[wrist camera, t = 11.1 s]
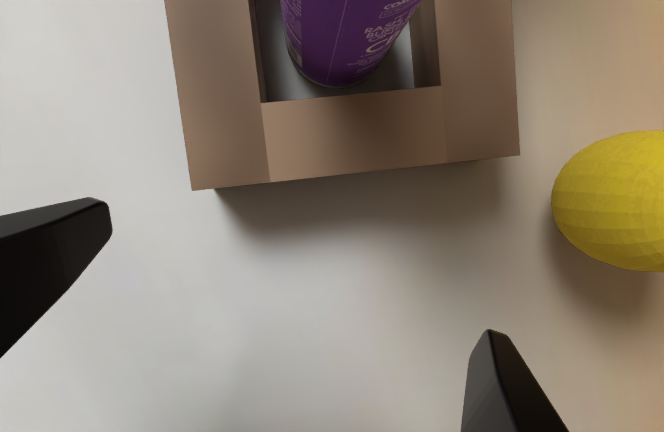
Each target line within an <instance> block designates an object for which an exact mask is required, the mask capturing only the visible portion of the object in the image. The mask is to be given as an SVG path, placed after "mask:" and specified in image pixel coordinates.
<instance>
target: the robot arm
mask: <svg viewBox="0 0 664 432" xmlns="http://www.w3.org/2000/svg"><path fill="white" fill-rule="evenodd" d="M112 231H113V229H112V223H111V217H110V211H109V207H108V205H107V203H105V202H104V201H101V200H98V199H95V198H91V197H87V198H82V199H77V200H72V201H68V202H63V203H58V204H54V205H49V206H44V207H40V208H35V209H30V210H26V211H21V212H16V213H11V214H7V215H2V216H0V358H1V357H2V356H3V355H4V354H5V353H6V352H7V351H8V350H9V349H10V348H11V347H12V346H13V345H14V344H15V343H16V342H17V341H18V340H19V339H20V338H21V337H22V336H23V335H24V334H25V333H26V332H27V331H28V330H29V329H30V328H31V327H32V326H33V325H34V324H35V323H36V322H37V321H38V320H39V319H40V318H41V317H42V316H43V315H44V314H45V313H46V312H47V311H48V310H49V309H50V308H51V307H52V306H53V305H54V304H55V303H56V302H57V301H58V300H59V299H60V298H61V297H62V295H63V294H64V293H65V292H66V291H67V290H68V289H69V288H70V287H71V286H72V285H73V283H74V282H75V281H76V280H77V279H78V277H79V276H80V275H81V274H82V272H83V271H84V270H85V269H86V268H87V266H88V265H89V264H90V263H91V261H92V260H93V259H94V258H95V256H96V255H97V254H98V253H99V252H100V250H101V249H102V248H103V247H104V245H105V244H106V243H107V242H108V240H109V239H110V237H111V235H112ZM461 432H569V430H568V429H567V427H566V426H565V424H564V423H563V421H562V420H561V418H560V416H559V415H558V413H557V412H556V410H555V409H554V407H553V405H552V404H551V402H550V401H549V399H548V398H547V396H546V394H545V393H544V391H543V390H542V388H541V387H540V385H539V383H538V382H537V380H536V379H535V377H534V376H533V374H532V373H531V371H530V369H529V368H528V366H527V365H526V363H525V362H524V360H523V358H522V357H521V355H520V354H519V352H518V351H517V349H516V347H515V346H514V344H513V343H512V341H511V340H510V338H509V337H508V336H507V335H506V334H503V333H500V332H497V331H494V330H491V329H487V330H486V331H484V333H483V334H482V336H481V338H480V339H479V341H478V343H477V344H476V346H475V348H474V349H473V351H472V353H471V355H470V358H469V363H468V372H467V380H466V389H465V397H464V406H463V415H462V424H461Z"/></svg>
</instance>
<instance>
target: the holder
mask: <svg viewBox="0 0 664 432" xmlns="http://www.w3.org/2000/svg"><path fill="white" fill-rule="evenodd" d="M164 1H165V8H166V15H167V22H168V29H169V36H170V43H171V50H172V57H173V64H174V71H175V77H176V84H177V91H178V98H179V105H180V112H181V119H182V126H183V133H184V140H185V146H186V153H187V160H188V167H189V174H190V181H191V188H192V191H195V190H204V189H213V188H223V187H232V186H241V185H250V184H259V183H269V182H278V181H287V180H296V179H305V178H315V177H324V176H333V175H342V174H351V173H361V172H370V171H379V170H388V169H397V168H407V167H416V166H425V165H434V164H443V163H453V162H462V161H471V160H480V159H489V158H499V157H508V156H517V155H520V147H519V129H518V112H517V95H516V77H515V60H514V42H513V25H512V8H511V0H422V1H421V3H420V4H419V6H418V7H417V9H416V10H415V12H414V13H413V15H412V16H411V18H410V19H409V25H410V37H411V49H412V61H413V73H414V85H415V88H413V89H402V90H392V91H382V92H372V93H361V94H351V95H341V96H330V97H320V98H310V99H300V100H289V101H279V102H269V103H267V97H266V89H265V81H264V72H263V64H262V56H261V48H260V40H259V32H258V23H257V15H256V7H255V0H164Z"/></svg>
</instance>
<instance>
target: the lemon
mask: <svg viewBox="0 0 664 432" xmlns="http://www.w3.org/2000/svg"><path fill="white" fill-rule="evenodd" d="M551 206H552V212H553V217H554V219H555V221H556V223H557V225H558V228H559V230H560V231H561V232H562V233H563V235H564V236H565V237H566V238H567V239H568V241H569V242H570V243H571V244H572V245H574V246H575V247H576V248H578V249H579V250H581V251H582V252H584V253H585V254H587V255H588V256H590V257H592V258H594V259H596V260H599V261H602V262H605V263H607V264H610V265H613V266H616V267H619V268H624V269H628V270H636V271H652V272H664V130H652V131H635V132H627V133H622V134H619V135H615V136H612V137H609V138H606V139H603V140H600V141H597V142H595V143H593V144H591V145H589V146H588V147H586V148H584V149H583V150H581V151H580V152H578V153H577V154H575V155H574V156H573V157H572V158H571V159H570V160H569V161H568V162H567V163H566V164H565V165H564V167H563V168H562V170H561V171H560V173H559V175H558V176H557V178H556V180H555V183H554V186H553V189H552V197H551Z"/></svg>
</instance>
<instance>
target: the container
mask: <svg viewBox="0 0 664 432" xmlns="http://www.w3.org/2000/svg"><path fill="white" fill-rule="evenodd" d="M421 1H422V0H280V3H281V10H282V18H283V25H284V32H285V39H286V45H287V49H288V52H289V55H290V58H291V60H292V62H293V63H294V65H295V66H296V68H297V69H298V70H299V72H300V73H301V74H302V75H303V76H305V77H306V78H307V79H308V80H310V81H312V82H313V83H315V84H317V85H320V86H323V87H327V88H336V89H338V88H347V87H350V86H353V85H356V84H358V83H360V82H362V81H363V80H365V79H366V78H367V77H368V76H370V75H371V74H372V73H373V71H374V70H375V69H376V68H377V66H378V65H379V64H380V62H381V61H382V59H383V58H384V56H385V55H386V53H387V52H388V50H389V49H390V47H391V46H392V44H393V43H394V41H395V40H396V38H397V37H398V35H399V34H400V32H401V31H402V30H403V28H404V27H405V25H406V24H407V22H408V21H409V19H410V18H411V16H412V15H413V13H414V12H415V10H416V9H417V7H418V6H419V4H420V3H421Z"/></svg>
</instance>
